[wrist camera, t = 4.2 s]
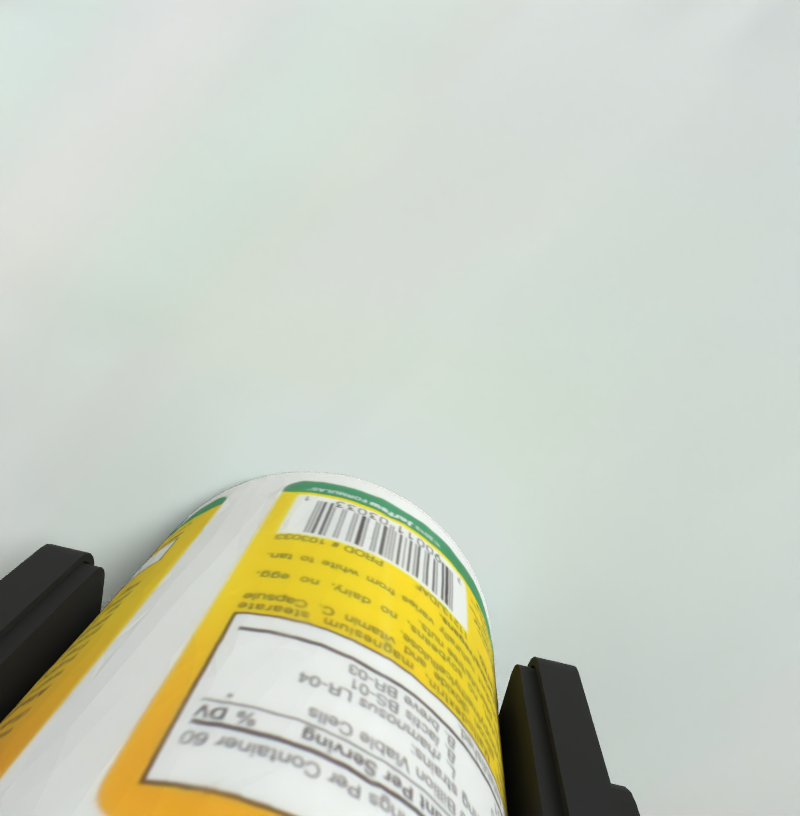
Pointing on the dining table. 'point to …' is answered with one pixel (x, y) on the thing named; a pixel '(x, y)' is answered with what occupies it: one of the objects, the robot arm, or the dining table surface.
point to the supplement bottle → (274, 671)
